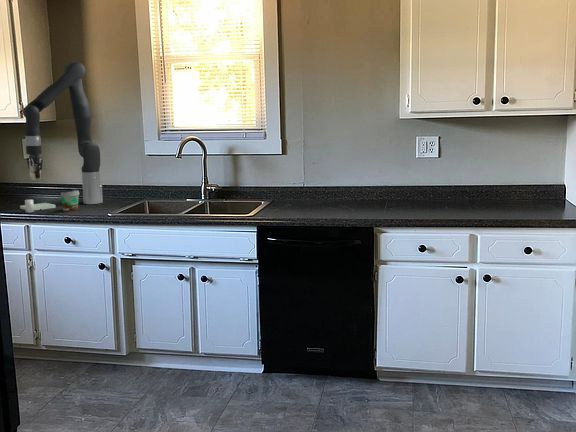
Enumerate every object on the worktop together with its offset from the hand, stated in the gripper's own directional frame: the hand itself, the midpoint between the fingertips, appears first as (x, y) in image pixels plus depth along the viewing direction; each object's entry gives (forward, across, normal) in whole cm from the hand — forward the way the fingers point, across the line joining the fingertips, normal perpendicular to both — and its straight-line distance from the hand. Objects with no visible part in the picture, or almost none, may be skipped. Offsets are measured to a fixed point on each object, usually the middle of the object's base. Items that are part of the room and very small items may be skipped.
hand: (35, 177), depth 344 cm
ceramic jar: (+16, -8, +8) cm, 20 cm away
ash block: (+1, 0, 0) cm, 1 cm away
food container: (+16, -21, -9) cm, 28 cm away
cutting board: (+16, 0, 0) cm, 16 cm away
